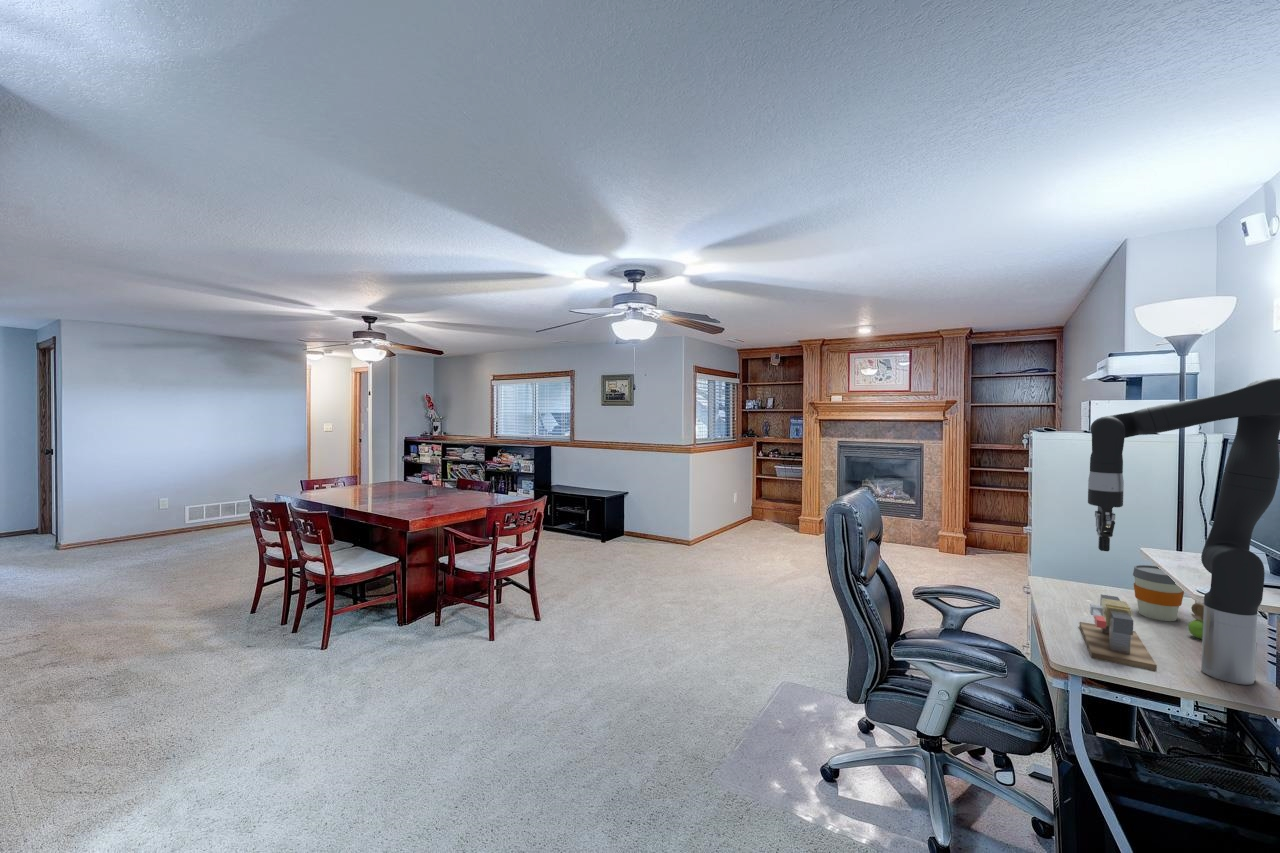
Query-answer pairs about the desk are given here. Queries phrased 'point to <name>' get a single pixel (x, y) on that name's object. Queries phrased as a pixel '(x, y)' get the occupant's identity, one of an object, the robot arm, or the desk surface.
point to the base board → (1101, 651)
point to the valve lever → (1098, 615)
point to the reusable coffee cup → (1156, 593)
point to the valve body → (1117, 623)
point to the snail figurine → (1197, 625)
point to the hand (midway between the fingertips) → (1103, 550)
